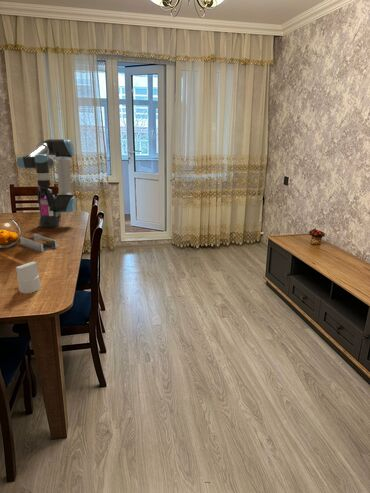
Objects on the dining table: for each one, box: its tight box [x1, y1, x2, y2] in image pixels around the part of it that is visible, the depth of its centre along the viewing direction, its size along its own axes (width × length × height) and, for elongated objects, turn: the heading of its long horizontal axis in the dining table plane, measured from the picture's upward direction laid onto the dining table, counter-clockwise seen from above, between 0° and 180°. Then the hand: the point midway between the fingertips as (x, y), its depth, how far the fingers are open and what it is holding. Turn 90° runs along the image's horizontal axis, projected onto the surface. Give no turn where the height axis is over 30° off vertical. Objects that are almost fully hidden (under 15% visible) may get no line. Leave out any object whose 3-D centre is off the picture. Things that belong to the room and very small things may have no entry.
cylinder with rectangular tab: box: [15, 261, 41, 294], centre depth 157 cm, size 9×9×12 cm
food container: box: [56, 212, 62, 221], centre depth 285 cm, size 12×6×10 cm, turn 71°
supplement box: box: [40, 197, 49, 216], centre depth 222 cm, size 6×6×12 cm
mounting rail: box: [19, 233, 59, 253], centre depth 213 cm, size 24×12×6 cm, turn 53°
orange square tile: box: [35, 240, 47, 244], centre depth 213 cm, size 7×7×1 cm
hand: (47, 214), depth 223 cm, fingers closed on supplement box, 8 cm apart
